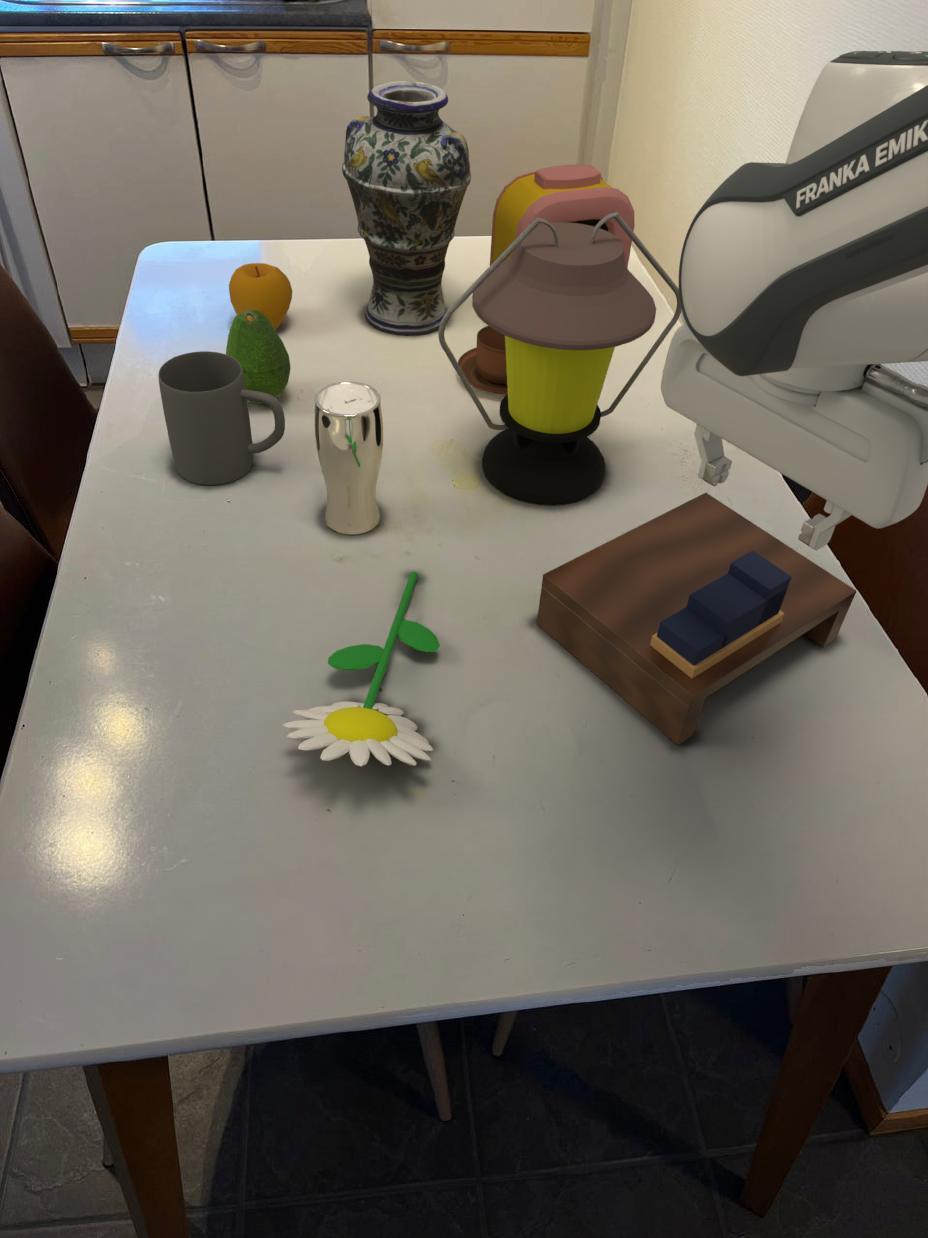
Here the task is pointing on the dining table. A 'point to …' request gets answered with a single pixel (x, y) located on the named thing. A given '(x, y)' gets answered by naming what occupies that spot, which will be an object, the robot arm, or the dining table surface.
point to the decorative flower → (368, 704)
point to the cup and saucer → (486, 362)
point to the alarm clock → (558, 204)
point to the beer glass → (349, 454)
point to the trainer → (724, 615)
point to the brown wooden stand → (677, 606)
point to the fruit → (259, 353)
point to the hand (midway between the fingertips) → (760, 510)
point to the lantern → (557, 352)
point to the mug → (212, 417)
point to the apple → (261, 291)
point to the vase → (406, 201)
